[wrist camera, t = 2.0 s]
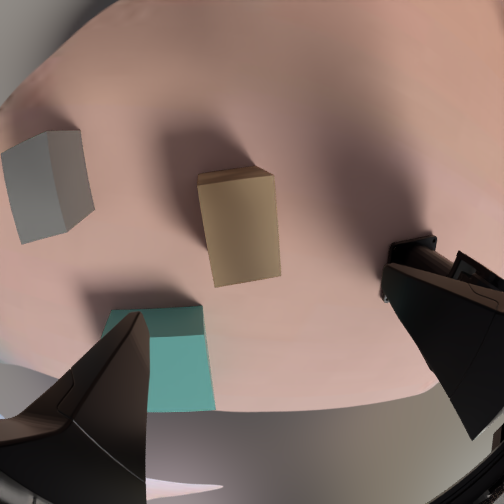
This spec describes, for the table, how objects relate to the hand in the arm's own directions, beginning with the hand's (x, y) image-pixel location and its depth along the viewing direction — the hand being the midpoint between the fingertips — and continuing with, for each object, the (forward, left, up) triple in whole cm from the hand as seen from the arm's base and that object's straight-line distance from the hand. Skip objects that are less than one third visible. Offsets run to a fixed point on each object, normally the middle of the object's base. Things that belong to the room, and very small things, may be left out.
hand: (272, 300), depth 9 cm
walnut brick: (0, 0, -11) cm, 11 cm away
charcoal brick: (+12, -5, -11) cm, 17 cm away
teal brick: (+8, +12, -12) cm, 18 cm away
